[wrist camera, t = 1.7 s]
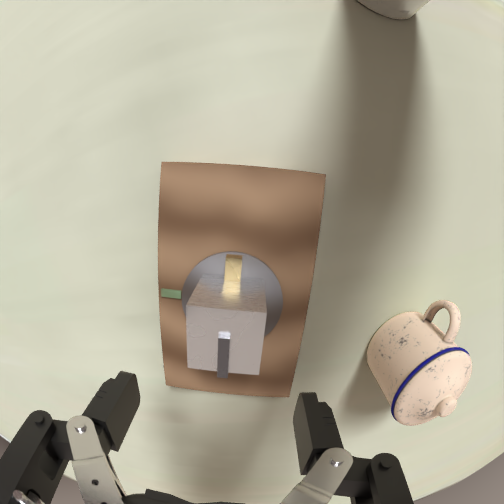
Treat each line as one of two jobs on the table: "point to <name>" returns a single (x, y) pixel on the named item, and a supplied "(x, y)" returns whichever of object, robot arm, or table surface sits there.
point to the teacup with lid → (420, 364)
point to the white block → (226, 322)
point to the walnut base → (253, 261)
